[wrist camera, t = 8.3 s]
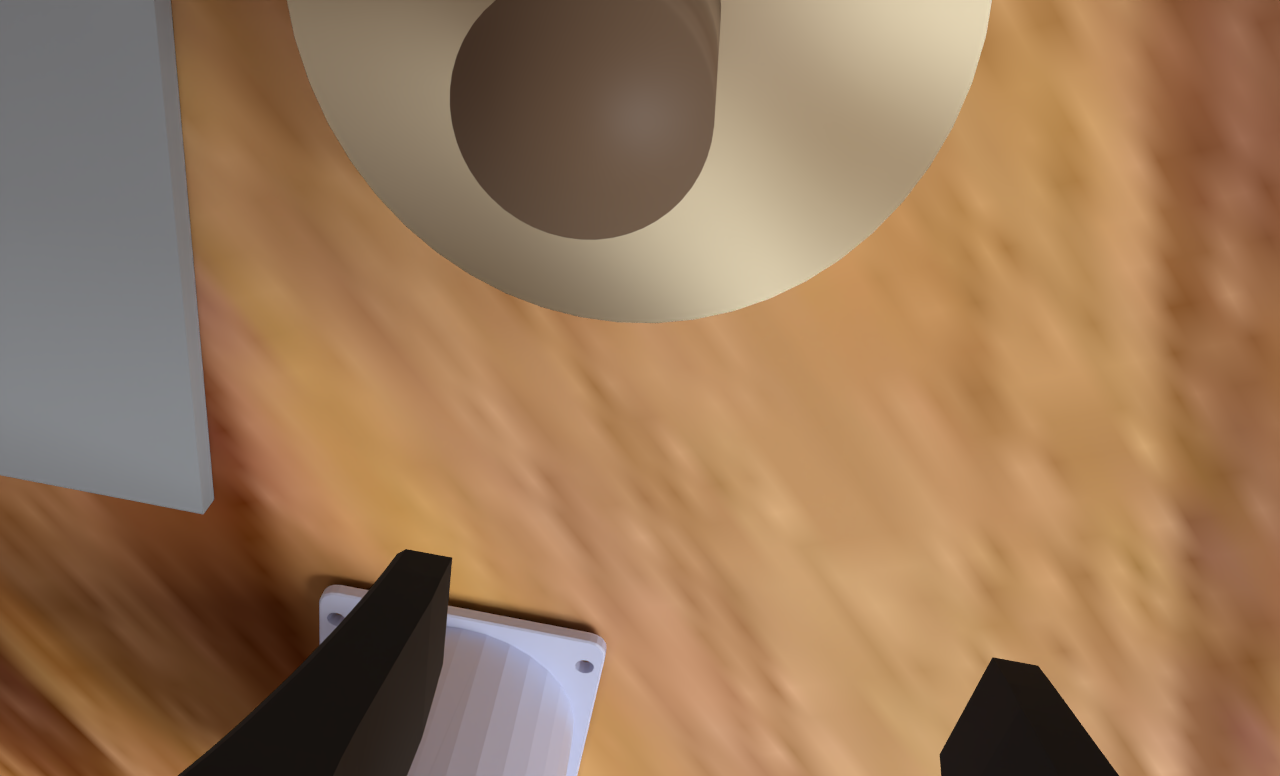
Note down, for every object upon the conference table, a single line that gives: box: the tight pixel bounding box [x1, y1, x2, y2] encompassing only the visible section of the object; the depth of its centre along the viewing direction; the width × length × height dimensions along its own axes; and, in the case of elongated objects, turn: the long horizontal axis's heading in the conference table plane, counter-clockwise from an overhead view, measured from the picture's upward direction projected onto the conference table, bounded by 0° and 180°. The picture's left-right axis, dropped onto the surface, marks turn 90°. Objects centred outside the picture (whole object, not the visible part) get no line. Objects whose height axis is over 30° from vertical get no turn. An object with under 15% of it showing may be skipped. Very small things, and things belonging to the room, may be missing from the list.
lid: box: [287, 0, 992, 323], centre depth 12 cm, size 10×10×6 cm
